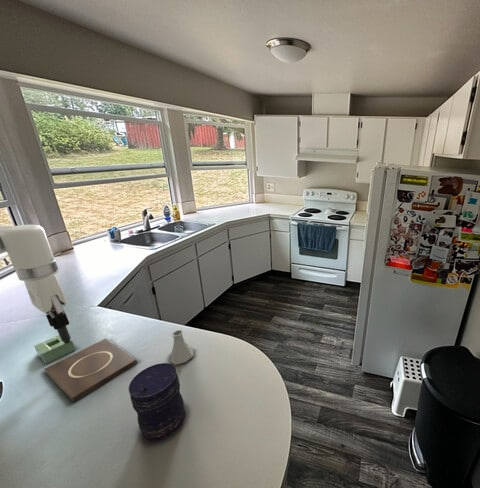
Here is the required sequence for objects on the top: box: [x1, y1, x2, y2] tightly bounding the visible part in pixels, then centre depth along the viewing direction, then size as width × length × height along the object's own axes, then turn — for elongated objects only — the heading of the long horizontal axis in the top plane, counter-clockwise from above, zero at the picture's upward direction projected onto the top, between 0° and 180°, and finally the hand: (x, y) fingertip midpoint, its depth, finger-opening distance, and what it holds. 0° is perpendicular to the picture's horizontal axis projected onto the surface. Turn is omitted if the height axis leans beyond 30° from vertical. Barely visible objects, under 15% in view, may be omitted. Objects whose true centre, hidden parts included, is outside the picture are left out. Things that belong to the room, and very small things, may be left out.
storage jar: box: [128, 362, 187, 443], centre depth 62 cm, size 10×10×15 cm
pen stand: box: [33, 334, 76, 365], centre depth 85 cm, size 7×7×4 cm
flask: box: [169, 329, 194, 366], centre depth 84 cm, size 7×7×10 cm
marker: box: [52, 310, 72, 344], centre depth 75 cm, size 2×2×12 cm
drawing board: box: [43, 337, 138, 403], centre depth 80 cm, size 16×20×2 cm
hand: (60, 324), depth 75 cm, fingers closed on marker, 2 cm apart
